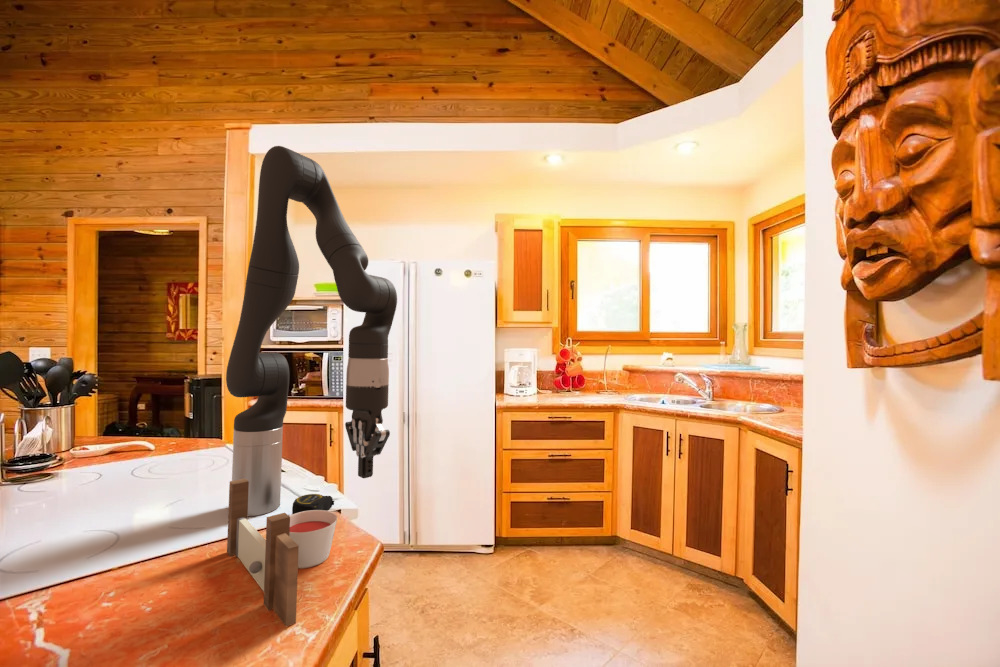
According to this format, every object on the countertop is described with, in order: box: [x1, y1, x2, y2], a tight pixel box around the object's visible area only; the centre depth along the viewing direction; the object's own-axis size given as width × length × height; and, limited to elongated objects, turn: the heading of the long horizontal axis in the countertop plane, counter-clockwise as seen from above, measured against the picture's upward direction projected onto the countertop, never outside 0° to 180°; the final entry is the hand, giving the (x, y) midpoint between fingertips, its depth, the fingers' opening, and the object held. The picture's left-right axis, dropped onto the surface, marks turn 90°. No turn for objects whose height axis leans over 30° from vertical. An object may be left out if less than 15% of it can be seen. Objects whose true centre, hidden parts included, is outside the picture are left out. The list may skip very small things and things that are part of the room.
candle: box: [289, 510, 338, 569], centre depth 72 cm, size 9×9×6 cm
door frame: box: [226, 479, 299, 627], centre depth 65 cm, size 26×2×12 cm, turn 45°
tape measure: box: [291, 493, 335, 515], centre depth 89 cm, size 7×7×4 cm
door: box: [235, 518, 266, 592], centre depth 67 cm, size 15×3×6 cm, turn 45°
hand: (365, 476), depth 79 cm, fingers closed
